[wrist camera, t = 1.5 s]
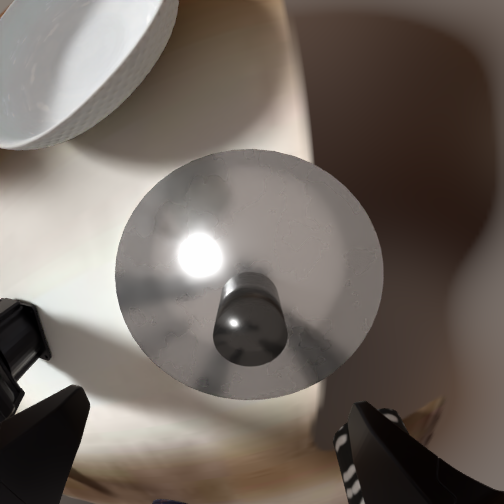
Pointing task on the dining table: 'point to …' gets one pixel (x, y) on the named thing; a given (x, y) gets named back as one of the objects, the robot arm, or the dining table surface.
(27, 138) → the cereal bowl
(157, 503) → the storage jar
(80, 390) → the robot arm
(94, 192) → the dining table surface
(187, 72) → the dining table surface
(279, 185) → the steel lid
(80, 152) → the dining table surface
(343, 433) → the white-spotted black cylinder
